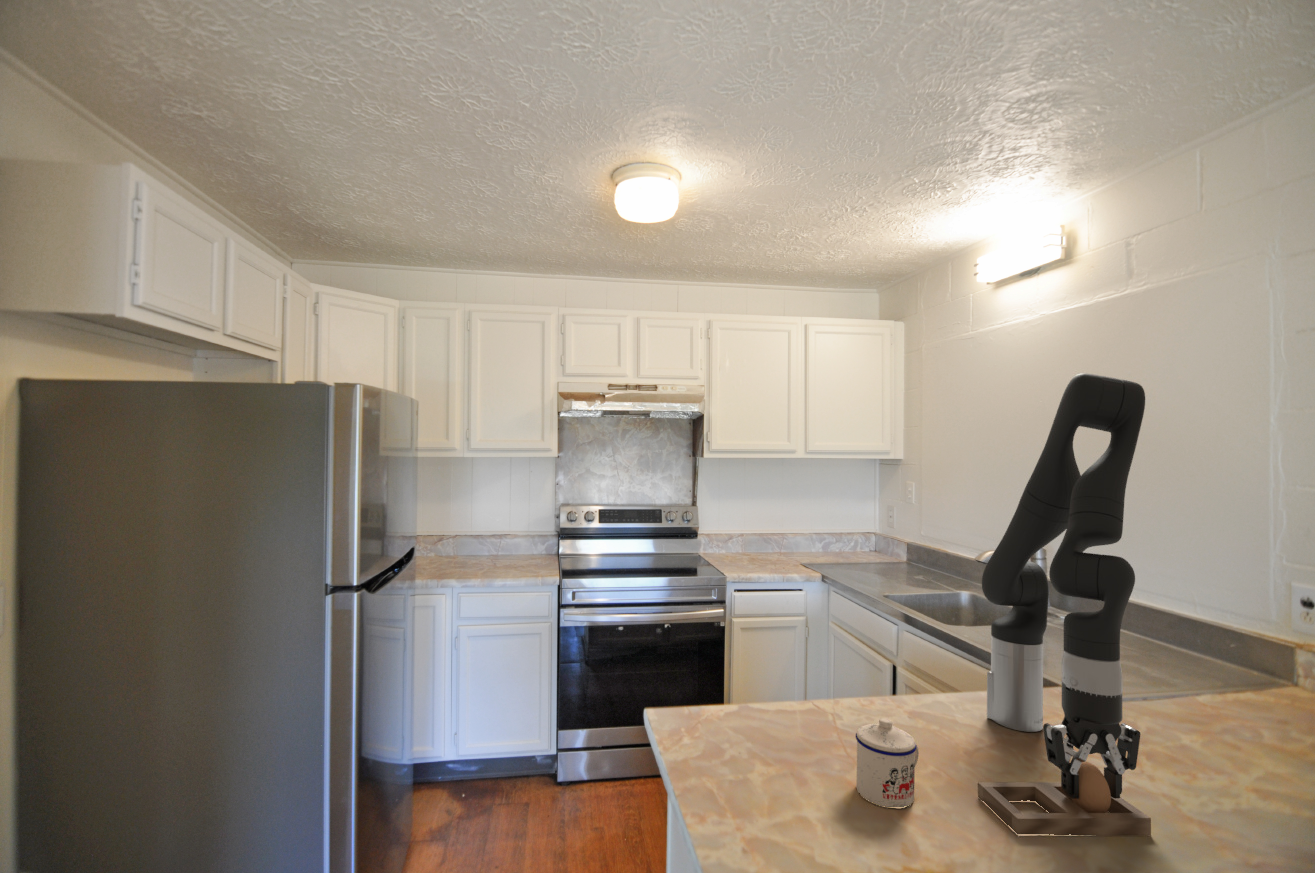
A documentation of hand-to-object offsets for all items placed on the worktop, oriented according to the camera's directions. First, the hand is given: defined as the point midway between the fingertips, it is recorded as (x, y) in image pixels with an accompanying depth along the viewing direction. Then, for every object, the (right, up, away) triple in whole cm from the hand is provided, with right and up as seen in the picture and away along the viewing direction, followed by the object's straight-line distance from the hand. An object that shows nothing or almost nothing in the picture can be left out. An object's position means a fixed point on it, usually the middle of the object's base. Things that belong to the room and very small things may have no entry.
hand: (1091, 795), depth 90 cm
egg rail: (-5, -3, 0) cm, 6 cm away
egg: (0, -3, 0) cm, 3 cm away
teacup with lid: (-29, -3, +5) cm, 29 cm away
